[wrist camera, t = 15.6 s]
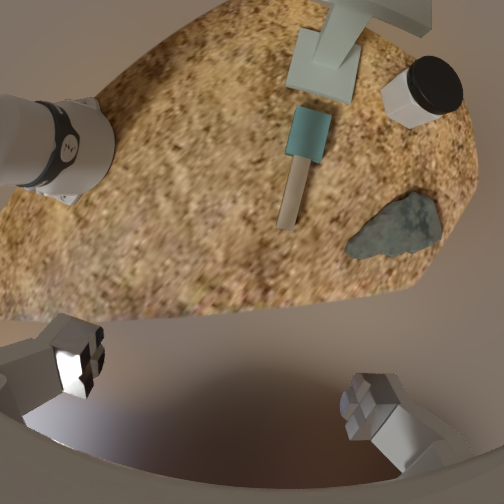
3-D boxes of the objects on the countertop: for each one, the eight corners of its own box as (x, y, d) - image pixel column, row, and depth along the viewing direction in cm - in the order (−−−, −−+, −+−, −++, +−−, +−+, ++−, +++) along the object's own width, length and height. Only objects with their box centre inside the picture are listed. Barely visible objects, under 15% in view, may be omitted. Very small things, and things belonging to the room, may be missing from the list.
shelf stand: (285, 86, 40) (307, -18, 15) (299, 30, 38) (326, -81, 12) (348, 104, 40) (431, 29, 15) (359, 48, 38) (427, -44, 12)
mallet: (267, 223, 44) (267, 225, 41) (295, 110, 41) (297, 105, 38) (299, 231, 44) (302, 234, 42) (327, 120, 41) (331, 115, 38)
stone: (352, 278, 44) (337, 214, 42) (347, 271, 47) (332, 212, 45) (446, 246, 41) (436, 186, 39) (437, 242, 44) (427, 185, 42)
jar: (404, 71, 38) (438, 45, 26) (433, 110, 39) (473, 95, 28) (369, 95, 40) (400, 70, 28) (400, 137, 41) (439, 124, 29)
